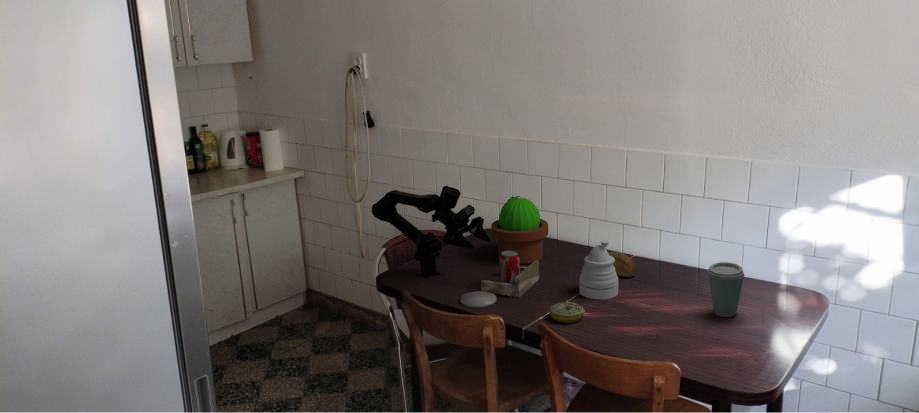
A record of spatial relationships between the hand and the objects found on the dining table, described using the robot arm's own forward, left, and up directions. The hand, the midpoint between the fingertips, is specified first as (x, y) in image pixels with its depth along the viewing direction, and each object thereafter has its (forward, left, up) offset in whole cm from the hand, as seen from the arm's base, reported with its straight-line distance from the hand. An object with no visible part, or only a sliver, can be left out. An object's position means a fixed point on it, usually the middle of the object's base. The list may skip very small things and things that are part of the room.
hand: (481, 244), depth 240 cm
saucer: (+9, -9, -16) cm, 20 cm away
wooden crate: (+5, +8, -16) cm, 18 cm away
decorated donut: (+38, +4, -16) cm, 41 cm away
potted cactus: (-15, +29, -16) cm, 37 cm away
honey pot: (+30, +26, -16) cm, 43 cm away
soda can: (+5, +8, -16) cm, 18 cm away
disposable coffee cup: (+67, +42, -16) cm, 81 cm away
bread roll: (+22, +43, -16) cm, 51 cm away
